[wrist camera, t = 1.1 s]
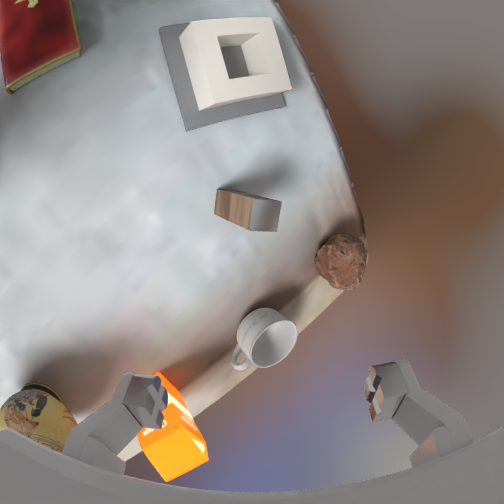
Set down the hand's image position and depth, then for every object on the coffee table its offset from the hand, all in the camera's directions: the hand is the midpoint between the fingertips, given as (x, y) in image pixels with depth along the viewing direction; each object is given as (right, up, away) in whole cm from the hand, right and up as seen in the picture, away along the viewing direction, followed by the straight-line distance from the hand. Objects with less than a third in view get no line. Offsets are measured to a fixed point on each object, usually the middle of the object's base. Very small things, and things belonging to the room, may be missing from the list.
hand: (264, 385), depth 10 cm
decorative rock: (+16, +5, +52) cm, 54 cm away
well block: (-5, +34, +28) cm, 45 cm away
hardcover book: (-33, +39, +11) cm, 52 cm away
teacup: (-1, -10, +46) cm, 48 cm away
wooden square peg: (-5, +13, +36) cm, 38 cm away
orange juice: (-20, -23, +39) cm, 50 cm away
